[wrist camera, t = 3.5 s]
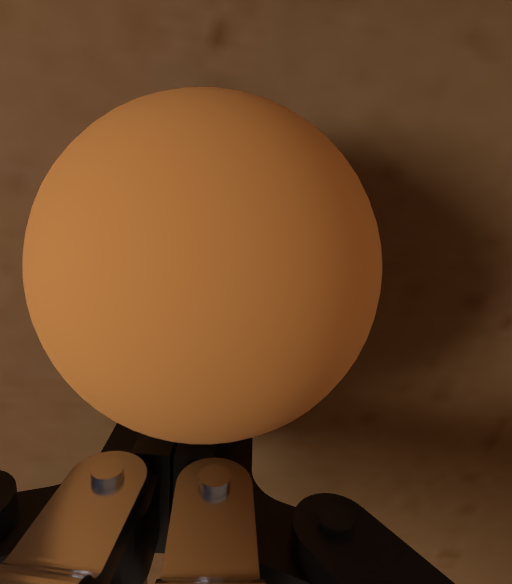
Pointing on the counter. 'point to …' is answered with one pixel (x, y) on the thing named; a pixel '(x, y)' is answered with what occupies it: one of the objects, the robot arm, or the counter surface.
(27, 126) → the counter surface
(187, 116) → the ball
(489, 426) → the counter surface
